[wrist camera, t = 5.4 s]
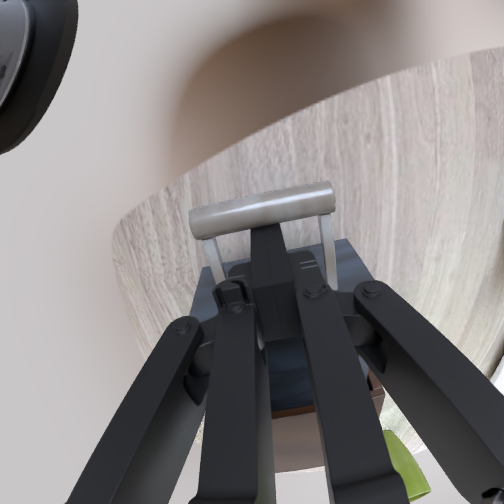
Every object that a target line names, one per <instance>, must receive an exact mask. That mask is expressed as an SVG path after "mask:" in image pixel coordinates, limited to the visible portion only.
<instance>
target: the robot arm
mask: <svg viewBox="0 0 504 504" xmlns="http://www.w3.org/2000/svg"><path fill="white" fill-rule="evenodd" d="M35 28H36V19H35V12H34V9H33V7H32V5H31V4H30V3H29V2H27V1H25V0H0V115H1V113H2V112H3V111H4V110H5V108H6V107H7V106H8V104H9V102H10V101H11V99H12V97H13V96H14V94H15V92H16V90H17V88H18V86H19V84H20V82H21V79H22V77H23V75H24V72H25V70H26V67H27V64H28V61H29V58H30V54H31V51H32V47H33V42H34V37H35ZM212 294H213V297H214V300H215V302H216V305H217V308H218V314H217V315H215V316H214V317H212V318H210V319H207V320H205V321H202V322H199V321H198V319H197V318H195V317H193V316H183V317H180V318H178V319H176V320H174V321H173V322H171V323H170V324H169V326H168V327H167V328H166V330H165V331H164V333H163V335H162V336H161V338H160V340H159V341H158V343H157V344H156V346H155V348H154V349H153V351H152V352H151V354H150V356H149V357H148V359H147V361H146V362H145V364H144V366H143V367H142V369H141V371H140V372H139V374H138V376H137V377H136V379H135V381H134V382H133V384H132V386H131V387H130V389H129V391H128V392H127V394H126V396H125V397H124V399H123V401H122V403H121V404H120V406H119V408H118V409H117V411H116V413H115V415H114V416H113V418H112V420H111V422H110V423H109V425H108V427H107V429H106V430H105V432H104V434H103V436H102V437H101V439H100V441H99V443H98V444H97V446H96V448H95V450H94V452H93V453H92V455H91V457H90V459H89V461H88V463H87V464H86V466H85V468H84V470H83V472H82V474H81V476H80V478H79V479H78V481H77V483H76V485H75V487H74V489H73V491H72V493H71V495H70V497H69V498H68V500H67V502H66V503H65V504H168V503H169V500H170V498H171V495H172V493H173V491H174V488H175V485H176V483H177V481H178V478H179V476H180V473H181V471H182V469H183V466H184V464H185V461H186V458H187V456H188V454H189V451H190V449H191V446H192V444H193V441H194V439H195V436H196V434H197V431H198V429H199V426H200V424H201V421H202V418H203V416H204V413H205V411H206V413H205V422H204V431H203V441H202V451H201V462H200V472H199V484H198V491H197V494H196V496H195V497H194V498H193V499H191V500H190V501H189V503H188V504H276V489H275V470H274V453H273V436H272V420H271V404H270V388H269V373H268V358H267V350H266V346H265V341H266V342H269V341H274V340H280V339H285V338H291V337H296V336H301V335H302V338H303V345H304V351H305V357H306V360H307V366H308V371H309V376H310V382H311V387H312V393H313V398H314V404H315V410H316V416H317V422H318V428H319V434H320V440H321V446H322V452H323V459H324V465H325V472H326V479H327V486H328V493H329V500H330V504H410V502H409V498H408V494H407V490H406V487H405V484H404V481H403V478H402V477H401V475H400V473H399V472H397V471H396V470H395V469H394V467H393V465H392V462H391V458H390V455H389V451H388V448H387V444H386V441H385V437H384V434H383V431H382V427H381V424H380V421H379V418H378V414H377V411H376V408H375V405H374V402H373V399H372V396H371V393H370V390H369V387H368V384H367V381H366V378H365V375H364V372H363V369H362V367H361V364H360V361H359V358H358V355H357V353H356V351H357V352H358V353H359V355H360V356H361V357H362V359H363V360H364V361H365V363H366V364H367V365H368V367H369V368H370V369H371V371H372V372H373V373H374V375H375V376H376V377H377V379H378V380H379V381H380V383H381V384H382V385H383V387H384V388H385V390H386V391H387V392H388V394H389V395H390V396H391V398H392V399H393V400H394V402H395V403H396V404H397V406H398V407H399V409H400V410H401V411H402V413H403V414H404V415H405V417H406V418H407V420H408V421H409V422H410V424H411V425H412V427H413V428H414V429H415V431H416V432H417V434H418V435H419V436H420V438H421V439H422V441H423V442H424V443H425V445H426V446H427V448H428V449H429V450H430V452H431V453H432V455H433V456H434V458H435V459H436V460H437V462H438V463H439V465H440V466H441V468H442V469H443V471H444V472H445V473H446V475H447V476H448V478H449V479H450V481H451V482H452V484H453V485H454V487H455V488H456V489H457V490H458V492H459V493H460V494H461V495H462V496H463V497H464V498H465V499H466V500H467V501H468V502H469V503H471V504H504V396H503V395H502V394H501V392H500V391H499V390H498V389H497V388H496V387H495V386H494V385H493V384H492V383H491V382H490V381H489V380H488V379H487V378H486V377H485V376H484V375H483V373H482V372H481V371H480V370H479V369H478V368H477V367H476V366H475V365H474V364H473V363H472V362H471V361H470V360H469V359H468V358H467V357H466V356H465V355H464V354H463V353H462V352H461V351H459V350H458V349H457V348H456V347H455V346H454V345H453V344H452V343H451V342H450V341H449V340H448V339H447V338H446V337H445V336H444V335H443V334H442V333H441V332H439V331H438V330H437V329H436V328H435V327H434V326H433V325H432V324H431V323H430V322H429V321H428V320H426V319H425V318H424V317H423V316H422V315H421V314H420V313H419V312H418V311H416V310H415V309H414V308H413V307H412V306H411V305H410V304H409V303H407V302H406V301H405V300H404V299H403V298H402V297H401V296H399V295H398V294H397V293H396V292H395V291H394V290H392V289H391V288H390V287H389V286H388V285H387V284H385V283H383V282H381V281H377V280H367V281H363V282H361V283H359V284H357V285H356V287H355V288H354V292H339V291H335V290H333V289H332V288H331V287H330V286H329V284H327V283H326V282H325V280H324V278H323V275H322V273H321V270H320V268H319V266H318V263H317V261H316V258H315V256H314V254H313V253H312V252H310V251H309V250H307V249H306V250H302V251H297V252H292V253H287V251H286V247H285V243H284V239H283V235H282V232H281V228H280V224H279V223H277V224H272V225H267V226H262V227H257V228H252V229H251V262H246V263H241V264H236V265H233V266H232V267H231V269H230V270H229V271H228V279H227V280H224V281H222V282H220V283H218V284H217V285H216V286H215V287H214V288H213V290H212ZM264 337H265V341H264ZM355 349H356V350H355Z"/></svg>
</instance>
